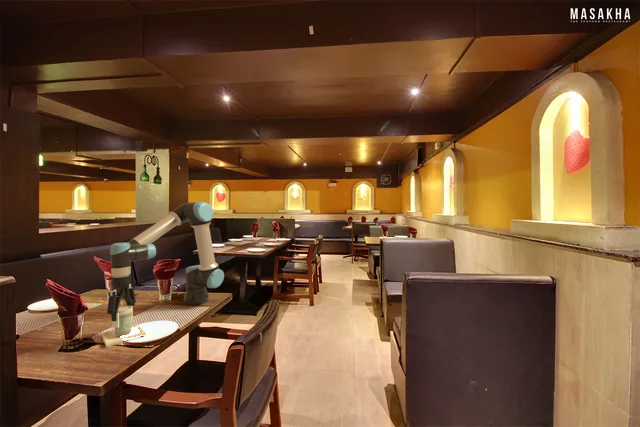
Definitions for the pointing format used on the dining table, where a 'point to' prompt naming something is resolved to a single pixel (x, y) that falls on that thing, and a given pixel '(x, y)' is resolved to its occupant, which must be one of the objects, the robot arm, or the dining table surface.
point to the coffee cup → (124, 320)
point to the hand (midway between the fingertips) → (122, 323)
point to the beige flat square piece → (117, 337)
